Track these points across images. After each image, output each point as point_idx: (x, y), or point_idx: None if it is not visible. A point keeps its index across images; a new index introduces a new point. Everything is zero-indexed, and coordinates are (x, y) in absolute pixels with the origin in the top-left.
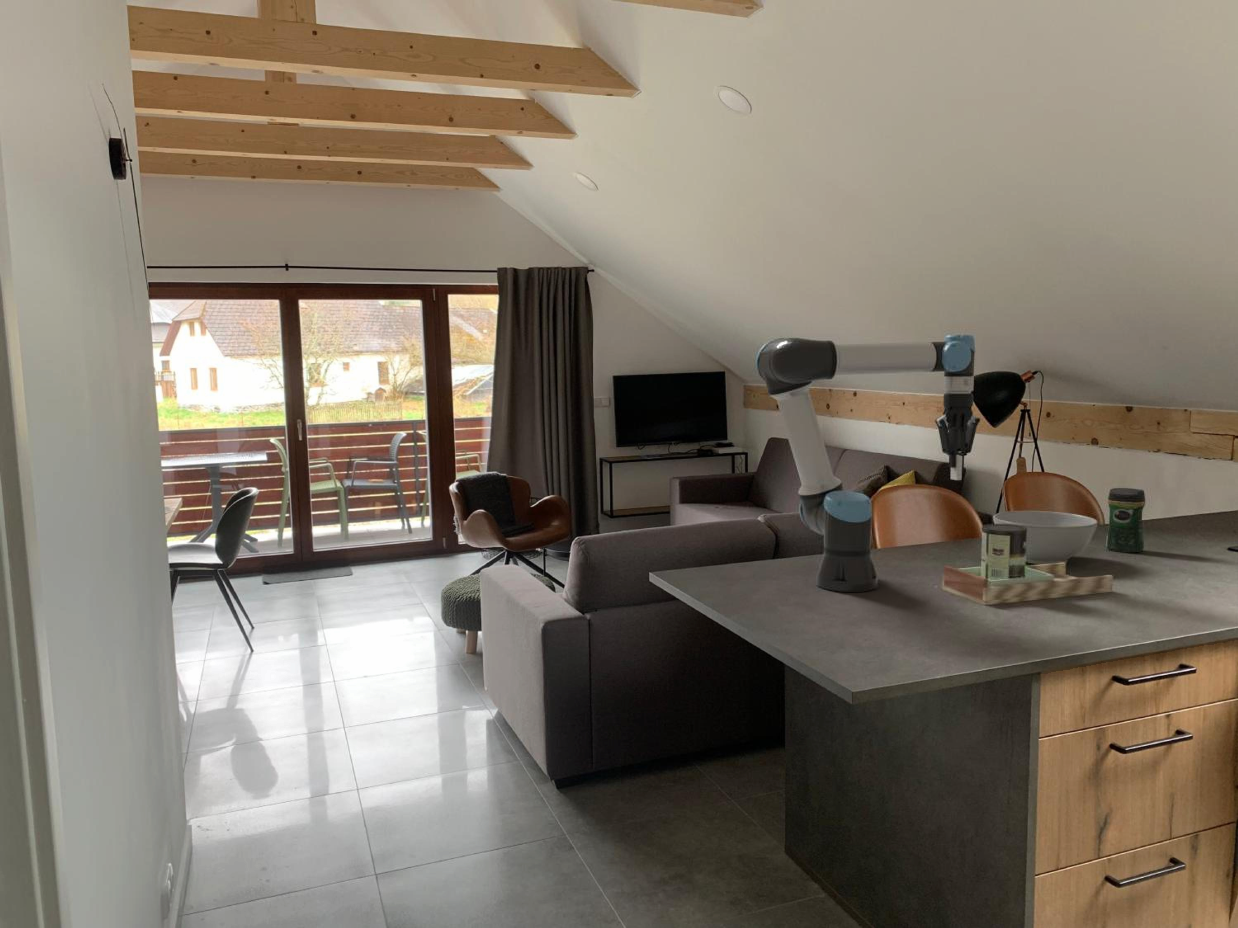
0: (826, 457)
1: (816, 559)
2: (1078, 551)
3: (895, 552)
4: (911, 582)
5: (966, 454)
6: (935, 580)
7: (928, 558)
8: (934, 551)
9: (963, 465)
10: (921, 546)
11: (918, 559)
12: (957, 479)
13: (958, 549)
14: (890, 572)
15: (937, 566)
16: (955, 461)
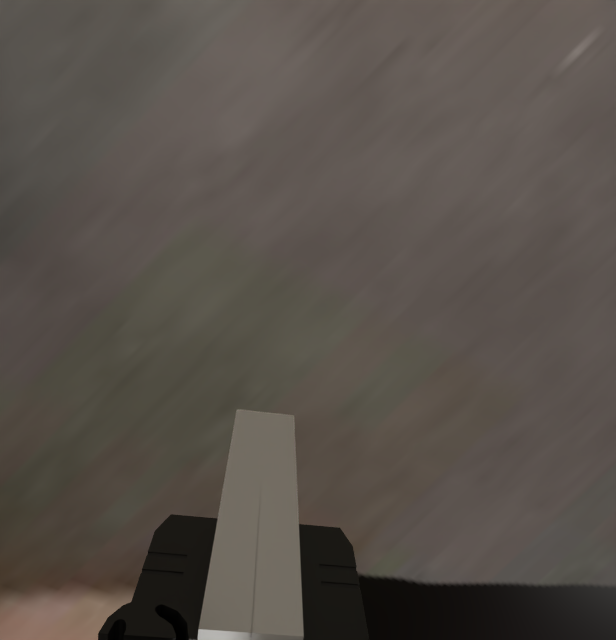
0: None
1: (578, 552)
2: None
3: None
4: (598, 149)
5: (123, 619)
6: (499, 129)
7: None
8: (141, 491)
9: (161, 530)
10: (126, 566)
11: None
12: (287, 416)
13: (33, 481)
14: (532, 308)
15: (314, 304)
16: (303, 588)
